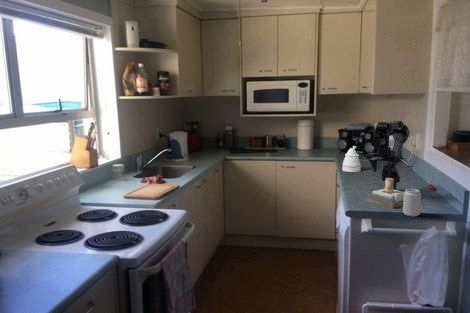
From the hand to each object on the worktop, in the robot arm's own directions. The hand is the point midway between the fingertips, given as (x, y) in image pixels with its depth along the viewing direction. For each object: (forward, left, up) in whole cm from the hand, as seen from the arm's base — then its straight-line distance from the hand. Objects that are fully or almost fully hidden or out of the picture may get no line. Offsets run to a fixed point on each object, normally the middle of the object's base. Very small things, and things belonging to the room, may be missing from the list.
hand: (382, 173), depth 208 cm
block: (+7, +10, -11) cm, 17 cm away
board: (+5, +10, -13) cm, 17 cm away
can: (+16, +29, -13) cm, 36 cm away
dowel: (+7, +10, -10) cm, 16 cm away
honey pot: (-41, -58, -13) cm, 72 cm away
